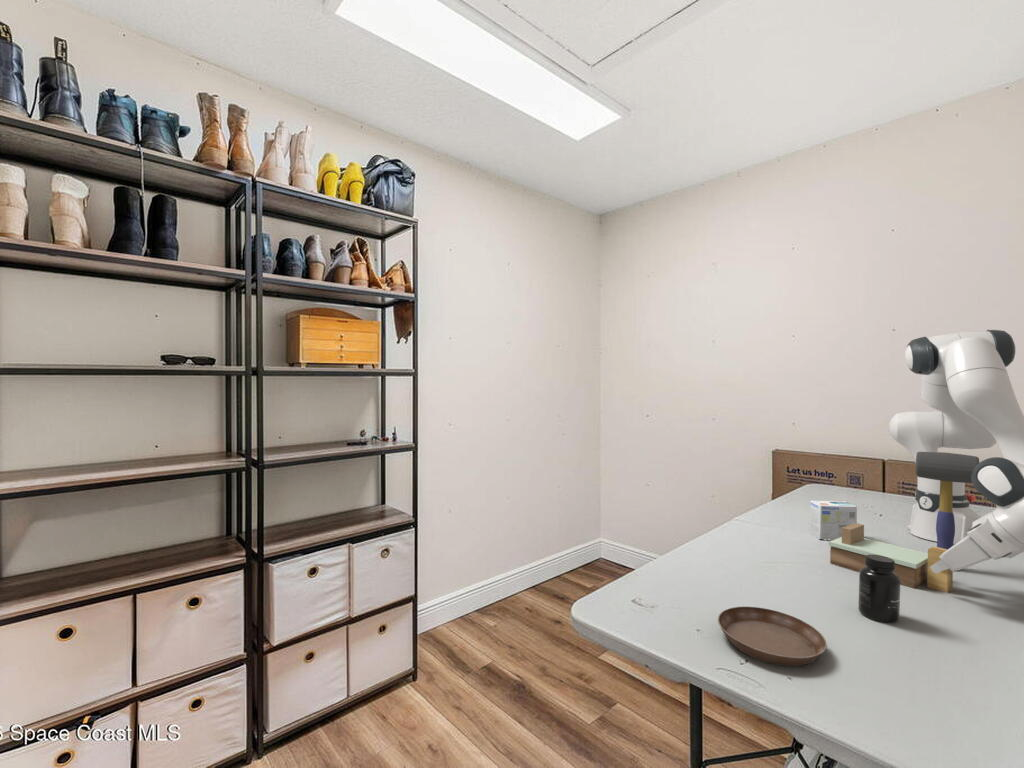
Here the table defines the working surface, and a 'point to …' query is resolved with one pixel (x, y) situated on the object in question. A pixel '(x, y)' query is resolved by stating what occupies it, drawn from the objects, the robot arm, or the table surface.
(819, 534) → the light bulb box
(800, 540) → the table surface
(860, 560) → the wooden box base
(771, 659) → the plant saucer
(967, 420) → the robot arm
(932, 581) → the light wooden block
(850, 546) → the lid
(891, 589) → the supplement bottle
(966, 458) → the rubber mallet
